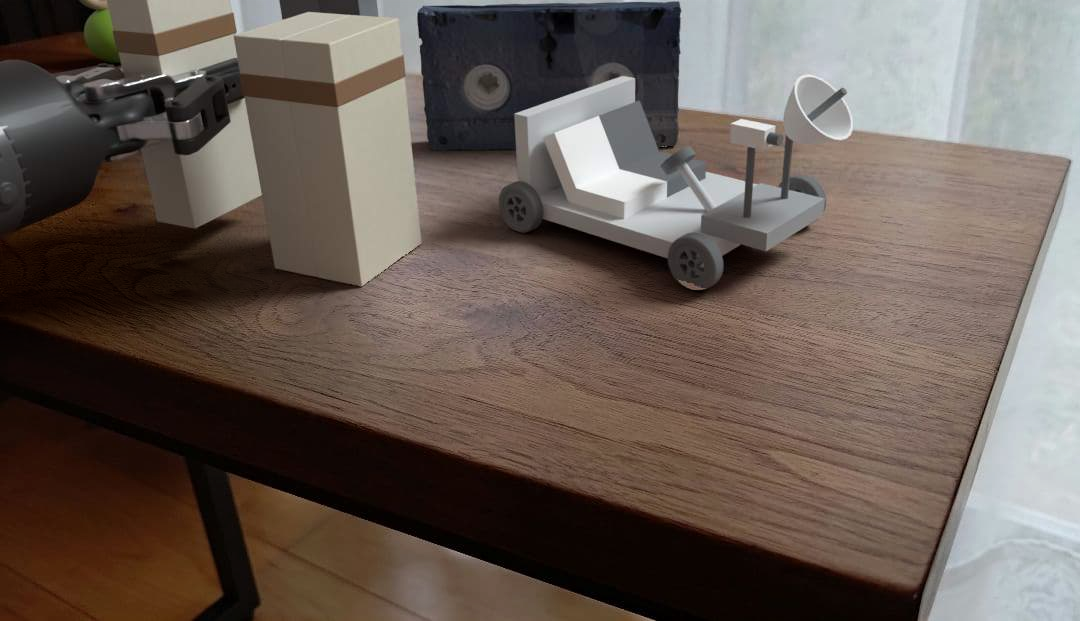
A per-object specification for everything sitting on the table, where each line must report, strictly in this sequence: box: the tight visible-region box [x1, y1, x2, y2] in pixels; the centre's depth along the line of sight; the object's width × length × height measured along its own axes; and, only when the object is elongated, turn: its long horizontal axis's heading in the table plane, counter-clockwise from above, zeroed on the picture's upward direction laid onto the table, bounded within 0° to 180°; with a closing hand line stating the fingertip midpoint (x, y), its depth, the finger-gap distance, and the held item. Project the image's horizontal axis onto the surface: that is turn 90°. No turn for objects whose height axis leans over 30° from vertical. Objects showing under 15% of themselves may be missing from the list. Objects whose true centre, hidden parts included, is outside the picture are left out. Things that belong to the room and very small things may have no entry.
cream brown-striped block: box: [234, 12, 422, 287], centre depth 54 cm, size 6×6×13 cm
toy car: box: [498, 73, 854, 290], centre depth 56 cm, size 18×10×12 cm
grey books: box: [278, 0, 379, 20], centre depth 78 cm, size 6×6×14 cm
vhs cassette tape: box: [416, 0, 682, 151], centre depth 71 cm, size 18×3×10 cm, turn 84°
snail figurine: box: [78, 0, 121, 64], centre depth 98 cm, size 5×6×12 cm
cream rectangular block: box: [107, 0, 262, 229], centre depth 57 cm, size 3×6×13 cm, turn 153°
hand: (222, 73), depth 59 cm, fingers closed on cream rectangular block, 3 cm apart
